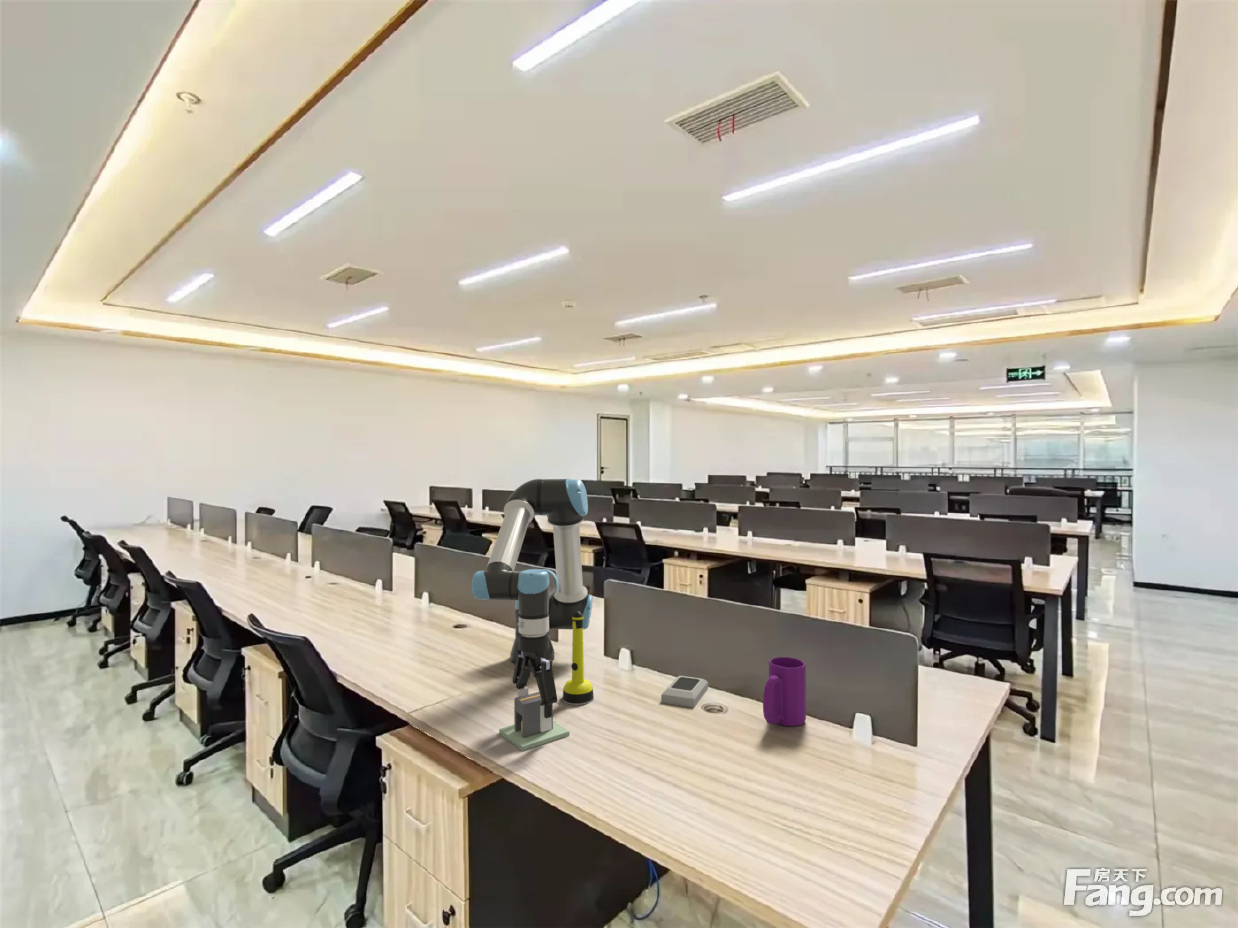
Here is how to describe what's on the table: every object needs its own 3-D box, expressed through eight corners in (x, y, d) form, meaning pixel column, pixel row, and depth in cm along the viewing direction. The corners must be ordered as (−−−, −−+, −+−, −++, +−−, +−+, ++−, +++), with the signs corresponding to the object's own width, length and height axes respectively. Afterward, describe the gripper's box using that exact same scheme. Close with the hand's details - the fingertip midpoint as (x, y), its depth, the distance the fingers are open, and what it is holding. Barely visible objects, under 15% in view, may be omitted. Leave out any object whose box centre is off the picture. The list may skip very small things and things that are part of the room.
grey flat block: (661, 690, 166) (677, 673, 180) (661, 703, 166) (677, 685, 180) (694, 695, 163) (708, 677, 176) (694, 709, 163) (708, 690, 176)
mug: (812, 719, 154) (811, 662, 155) (782, 739, 143) (782, 677, 143) (780, 709, 161) (779, 654, 161) (749, 728, 150) (749, 668, 150)
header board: (544, 719, 156) (544, 703, 156) (569, 735, 146) (569, 719, 146) (499, 732, 148) (499, 716, 148) (522, 751, 138) (522, 733, 138)
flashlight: (575, 606, 175) (555, 612, 168) (599, 610, 170) (580, 616, 163) (576, 690, 175) (555, 700, 168) (600, 697, 170) (580, 707, 163)
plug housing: (543, 722, 151) (542, 690, 151) (552, 729, 147) (552, 696, 147) (514, 730, 146) (514, 697, 146) (523, 737, 142) (523, 703, 142)
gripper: (498, 625, 154) (499, 710, 154) (544, 647, 135) (544, 743, 135) (524, 621, 158) (524, 703, 158) (572, 641, 140) (572, 734, 140)
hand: (534, 722), depth 147 cm, fingers open, 11 cm apart
